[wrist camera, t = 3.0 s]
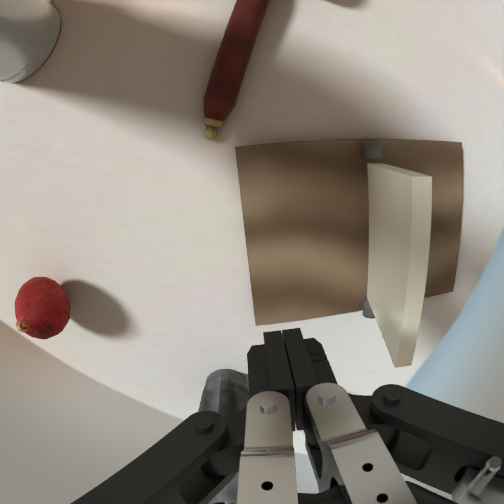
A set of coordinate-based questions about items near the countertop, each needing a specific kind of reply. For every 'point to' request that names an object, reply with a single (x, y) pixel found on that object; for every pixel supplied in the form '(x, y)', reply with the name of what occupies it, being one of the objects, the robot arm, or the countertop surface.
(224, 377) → the beverage cup
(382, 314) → the tile
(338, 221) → the walnut board
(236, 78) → the gavel
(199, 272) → the countertop surface
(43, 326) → the onion
